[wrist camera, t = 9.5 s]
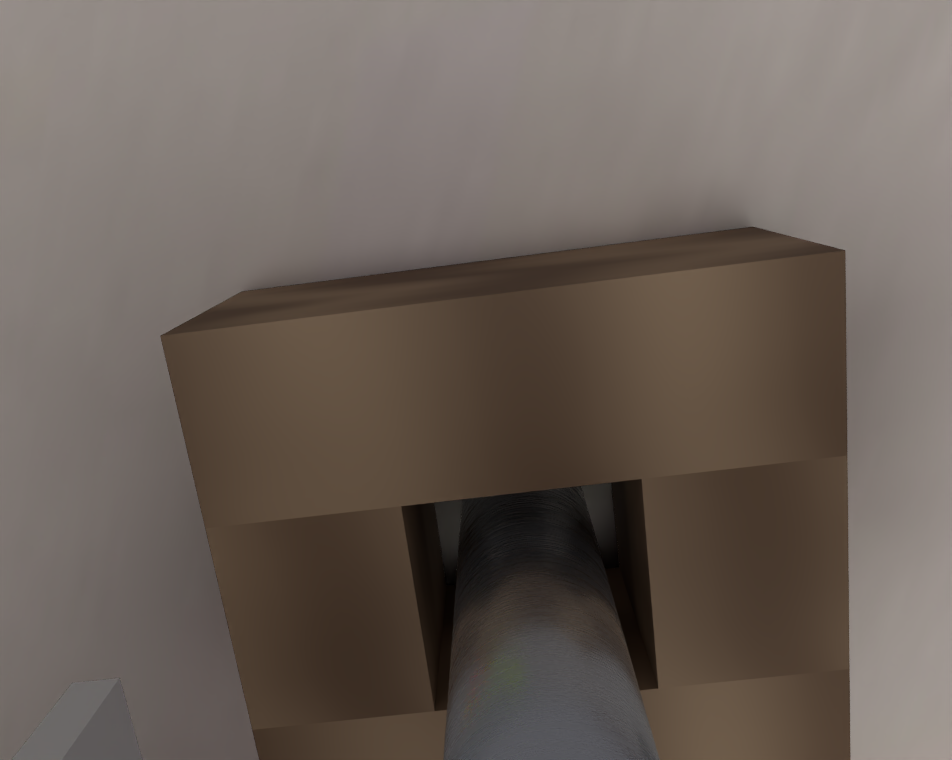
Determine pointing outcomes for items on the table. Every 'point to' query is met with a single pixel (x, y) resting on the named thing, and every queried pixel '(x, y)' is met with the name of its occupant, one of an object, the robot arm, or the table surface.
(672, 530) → the socket block
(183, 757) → the table surface
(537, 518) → the peg
